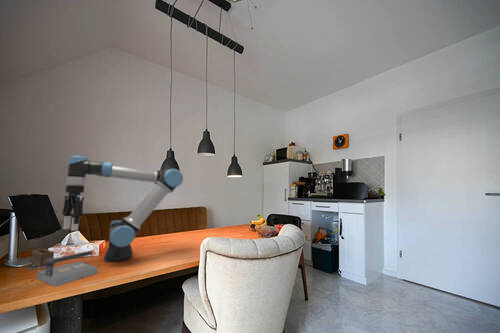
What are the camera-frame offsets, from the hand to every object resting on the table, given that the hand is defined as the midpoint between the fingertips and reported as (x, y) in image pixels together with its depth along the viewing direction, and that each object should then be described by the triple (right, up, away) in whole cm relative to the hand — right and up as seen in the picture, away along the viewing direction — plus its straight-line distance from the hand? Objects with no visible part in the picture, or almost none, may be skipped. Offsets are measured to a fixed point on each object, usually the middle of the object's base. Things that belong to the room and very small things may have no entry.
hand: (70, 229), depth 111 cm
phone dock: (-22, -22, +8) cm, 32 cm away
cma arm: (+4, -13, -5) cm, 15 cm away
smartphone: (-22, -22, +7) cm, 32 cm away
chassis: (+4, -21, -6) cm, 22 cm away
